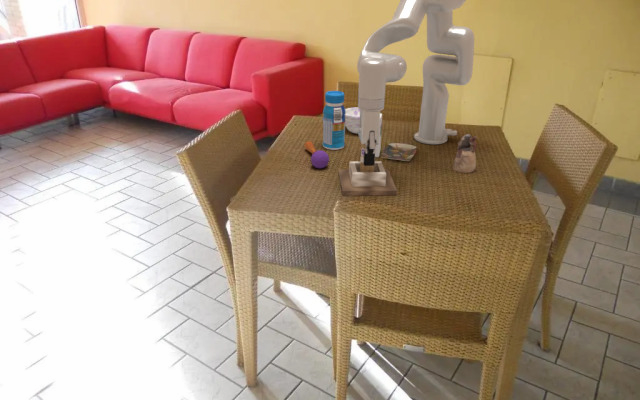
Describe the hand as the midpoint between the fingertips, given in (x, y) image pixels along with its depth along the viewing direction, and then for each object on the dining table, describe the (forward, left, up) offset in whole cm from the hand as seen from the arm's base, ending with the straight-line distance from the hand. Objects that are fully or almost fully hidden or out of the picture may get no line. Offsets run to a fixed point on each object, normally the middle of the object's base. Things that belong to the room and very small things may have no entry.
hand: (367, 161), depth 147 cm
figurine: (-34, -11, -8) cm, 37 cm away
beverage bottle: (+8, -33, -8) cm, 35 cm away
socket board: (0, 0, -8) cm, 8 cm away
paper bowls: (-4, -51, -8) cm, 52 cm away
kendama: (+15, -21, -8) cm, 27 cm away
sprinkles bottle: (0, 0, -4) cm, 4 cm away
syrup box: (-5, -25, -8) cm, 27 cm away
